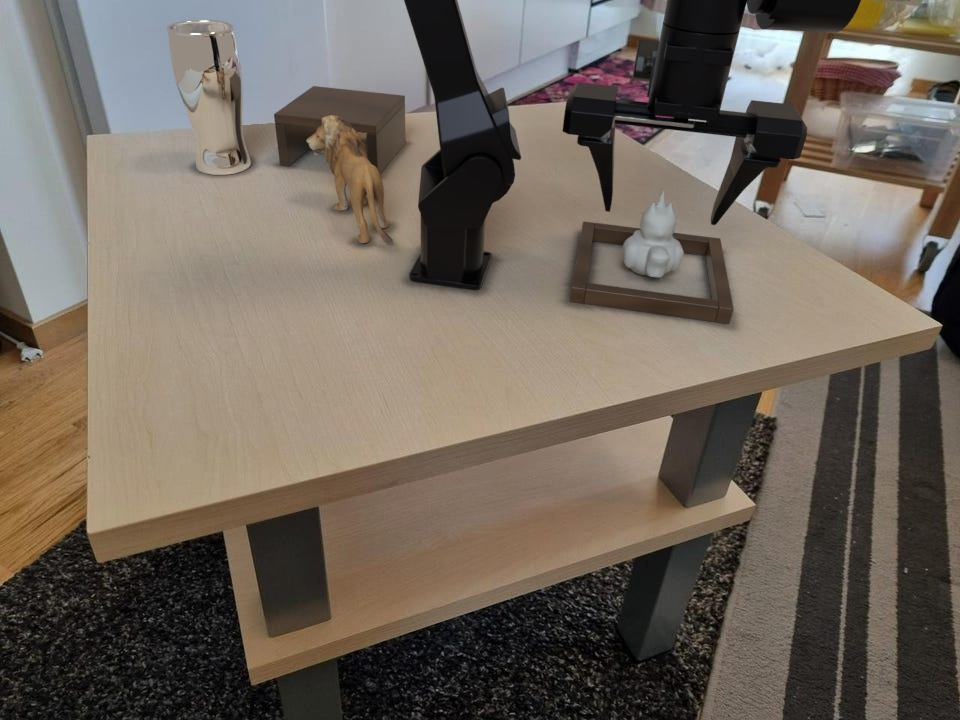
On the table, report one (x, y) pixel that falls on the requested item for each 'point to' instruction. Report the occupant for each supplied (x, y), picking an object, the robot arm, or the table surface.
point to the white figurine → (654, 242)
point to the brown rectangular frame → (648, 300)
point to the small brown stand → (358, 108)
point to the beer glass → (211, 92)
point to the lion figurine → (351, 173)
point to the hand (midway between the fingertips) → (659, 216)
